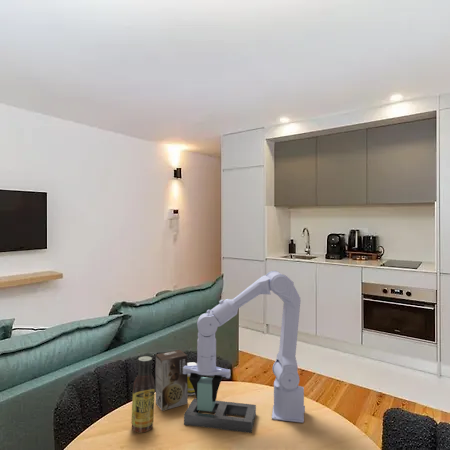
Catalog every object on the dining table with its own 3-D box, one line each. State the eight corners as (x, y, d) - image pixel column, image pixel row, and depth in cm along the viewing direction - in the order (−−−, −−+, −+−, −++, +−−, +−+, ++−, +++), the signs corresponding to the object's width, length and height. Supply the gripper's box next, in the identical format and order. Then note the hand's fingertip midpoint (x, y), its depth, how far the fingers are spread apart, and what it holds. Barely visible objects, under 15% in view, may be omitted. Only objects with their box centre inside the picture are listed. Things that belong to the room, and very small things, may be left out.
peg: (215, 404, 107) (215, 378, 107) (211, 411, 103) (211, 384, 103) (201, 402, 108) (201, 376, 108) (197, 409, 104) (197, 383, 104)
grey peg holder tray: (255, 414, 107) (255, 404, 107) (251, 433, 97) (251, 422, 97) (193, 407, 111) (193, 398, 111) (183, 424, 101) (183, 414, 101)
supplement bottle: (198, 395, 119) (198, 367, 119) (182, 395, 119) (182, 367, 119) (199, 388, 124) (199, 361, 125) (184, 388, 125) (184, 361, 125)
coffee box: (180, 396, 119) (180, 348, 119) (188, 404, 113) (188, 354, 114) (154, 402, 114) (155, 353, 114) (161, 411, 109) (162, 360, 109)
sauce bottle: (134, 436, 95) (134, 364, 96) (129, 425, 101) (129, 356, 101) (157, 430, 98) (157, 360, 99) (151, 419, 104) (151, 353, 104)
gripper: (232, 351, 108) (232, 395, 108) (187, 348, 111) (187, 390, 111) (228, 359, 101) (227, 406, 101) (180, 355, 104) (180, 401, 104)
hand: (206, 399), depth 105 cm, fingers closed on peg, 4 cm apart
